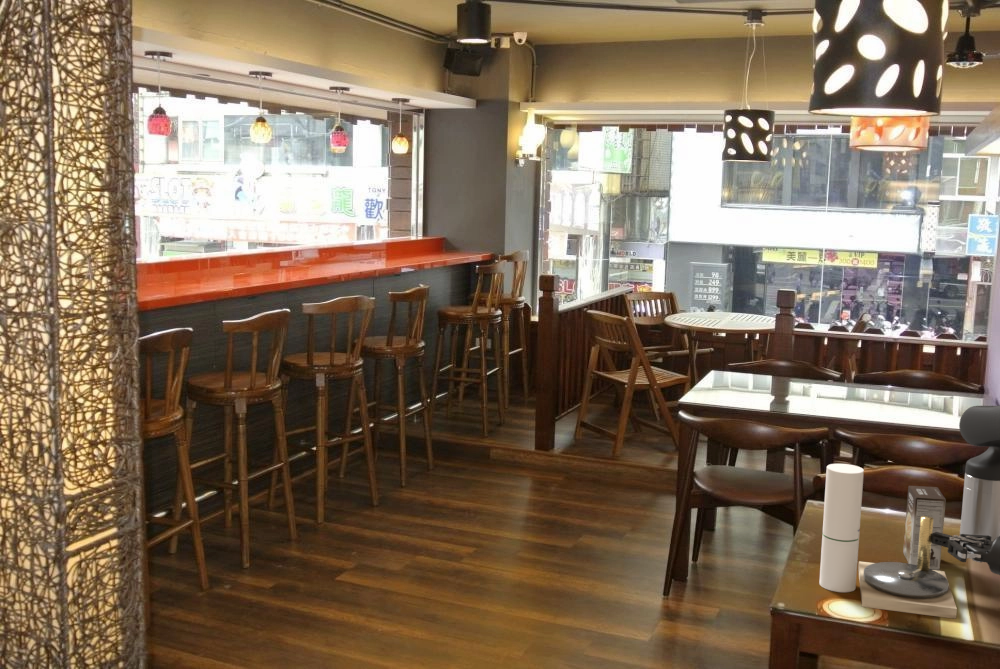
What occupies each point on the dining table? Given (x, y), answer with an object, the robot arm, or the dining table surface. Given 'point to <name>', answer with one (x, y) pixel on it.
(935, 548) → the coffee box
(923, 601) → the stand
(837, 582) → the cylindrical container
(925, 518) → the crank wheel
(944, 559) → the dining table surface
